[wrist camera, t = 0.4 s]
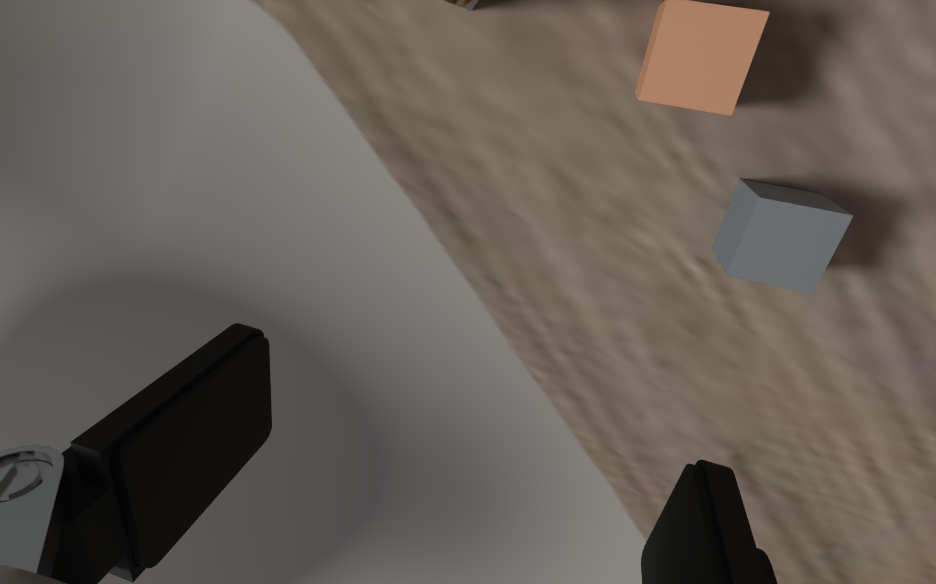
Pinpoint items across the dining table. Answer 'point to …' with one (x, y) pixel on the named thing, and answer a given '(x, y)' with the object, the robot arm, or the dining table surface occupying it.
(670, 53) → the rust block
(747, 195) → the slate block
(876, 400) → the dining table surface
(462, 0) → the coffee box
